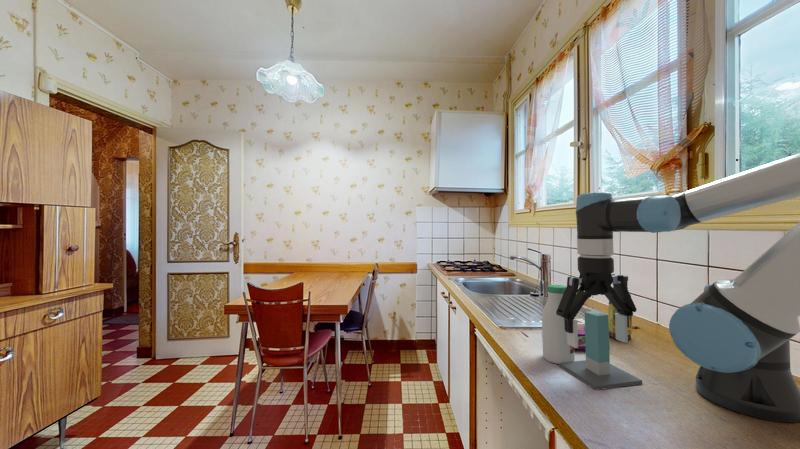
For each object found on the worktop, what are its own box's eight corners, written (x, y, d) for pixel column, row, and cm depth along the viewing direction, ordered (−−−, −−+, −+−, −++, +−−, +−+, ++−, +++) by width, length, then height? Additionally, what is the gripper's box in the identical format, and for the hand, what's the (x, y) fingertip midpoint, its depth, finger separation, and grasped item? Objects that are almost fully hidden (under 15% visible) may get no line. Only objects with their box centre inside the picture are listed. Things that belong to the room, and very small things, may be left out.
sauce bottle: (613, 340, 98) (611, 276, 98) (605, 333, 104) (603, 273, 105) (637, 341, 97) (635, 276, 97) (627, 334, 103) (625, 273, 103)
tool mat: (642, 383, 72) (642, 380, 72) (596, 389, 69) (596, 386, 70) (600, 361, 83) (600, 358, 83) (559, 366, 81) (559, 363, 81)
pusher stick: (609, 374, 75) (608, 315, 75) (598, 375, 74) (597, 316, 74) (596, 366, 79) (595, 310, 79) (586, 368, 78) (584, 311, 78)
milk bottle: (564, 368, 80) (562, 289, 80) (537, 358, 87) (535, 285, 87) (580, 360, 84) (578, 286, 85) (552, 351, 91) (551, 282, 91)
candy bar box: (569, 333, 91) (548, 317, 107) (569, 351, 91) (548, 332, 107) (610, 333, 90) (582, 317, 106) (610, 351, 90) (583, 332, 106)
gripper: (625, 252, 82) (627, 333, 82) (539, 256, 78) (541, 342, 78) (653, 255, 75) (655, 344, 75) (559, 259, 71) (562, 354, 71)
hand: (597, 343), depth 76 cm, fingers open, 13 cm apart
